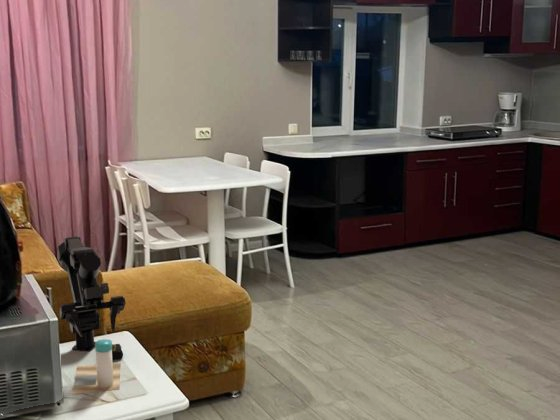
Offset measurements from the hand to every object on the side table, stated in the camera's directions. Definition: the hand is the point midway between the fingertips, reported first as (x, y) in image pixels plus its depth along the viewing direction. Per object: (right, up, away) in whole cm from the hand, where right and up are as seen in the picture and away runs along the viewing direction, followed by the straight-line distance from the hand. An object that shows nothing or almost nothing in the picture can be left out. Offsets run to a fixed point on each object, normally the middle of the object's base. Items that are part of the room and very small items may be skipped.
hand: (97, 333), depth 200 cm
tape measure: (+1, -11, +15) cm, 19 cm away
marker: (+3, -14, -4) cm, 15 cm away
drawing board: (0, -13, 0) cm, 14 cm away
